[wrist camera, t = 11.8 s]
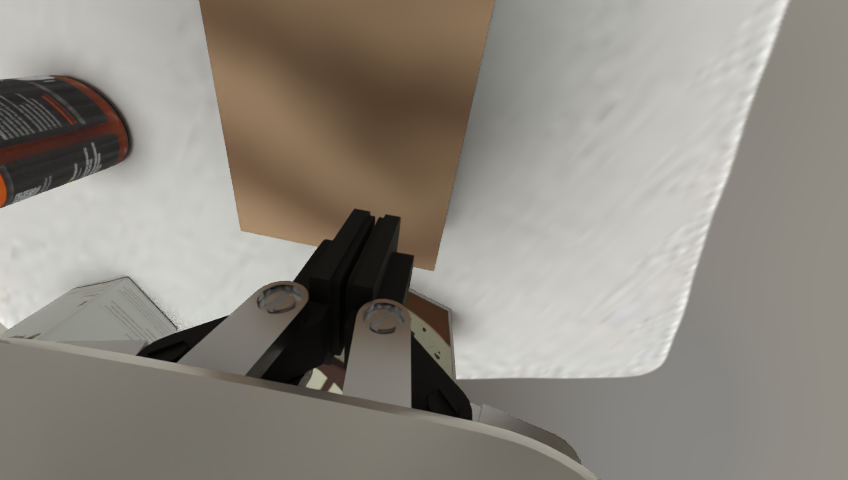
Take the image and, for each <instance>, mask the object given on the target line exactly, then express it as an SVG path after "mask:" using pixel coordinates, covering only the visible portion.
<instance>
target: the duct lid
mask: <svg viewBox="0 0 848 480" xmlns="http://www.w3.org/2000/svg"><path fill="white" fill-rule="evenodd" d="M199 2H200V7H201V13H202V18H203V24H204V29H205V35H206V40H207V46H208V52H209V57H210V63H211V68H212V74H213V79H214V85H215V90H216V96H217V101H218V107H219V112H220V118H221V123H222V129H223V134H224V140H225V145H226V151H227V157H228V162H229V168H230V173H231V179H232V184H233V190H234V195H235V201H236V206H237V212H238V217H239V223H240V228H241V231H245V232H250V233H255V234H259V235H264V236H269V237H274V238H278V239H283V240H288V241H293V242H297V243H302V244H307V245H312V246H317V247H319V245H320V244H321V242H322V241H323V240H324V239H328V240H333V239H334V238H335V236H336V235H337V233H338V232H339V230H340V229H341V227H342V226H343V224H344V223H345V221H346V220H347V218H348V217H349V216H350V214H351V213H352V211H353V210H354V209H360V210H365V211H370V214H371V216H375V224H376V222H377V220H378V218H379V217H382V218H384V216H385V214H388V215H393V216H399V217H401V223H400V231H399V240H398V248H397V252H400V253H405V254H410V255H414V263H413V267H417V268H421V269H426V270H431V271H434V268H435V264H436V259H437V255H438V250H439V246H440V242H441V237H442V233H443V228H444V224H445V219H446V215H447V211H448V206H449V202H450V197H451V193H452V189H453V184H454V180H455V175H456V171H457V166H458V162H459V158H460V153H461V149H462V144H463V140H464V135H465V131H466V127H467V122H468V118H469V113H470V109H471V105H472V100H473V96H474V91H475V87H476V82H477V78H478V74H479V69H480V65H481V60H482V56H483V51H484V47H485V43H486V38H487V34H488V29H489V25H490V21H491V16H492V12H493V7H494V3H495V0H199Z"/></svg>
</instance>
